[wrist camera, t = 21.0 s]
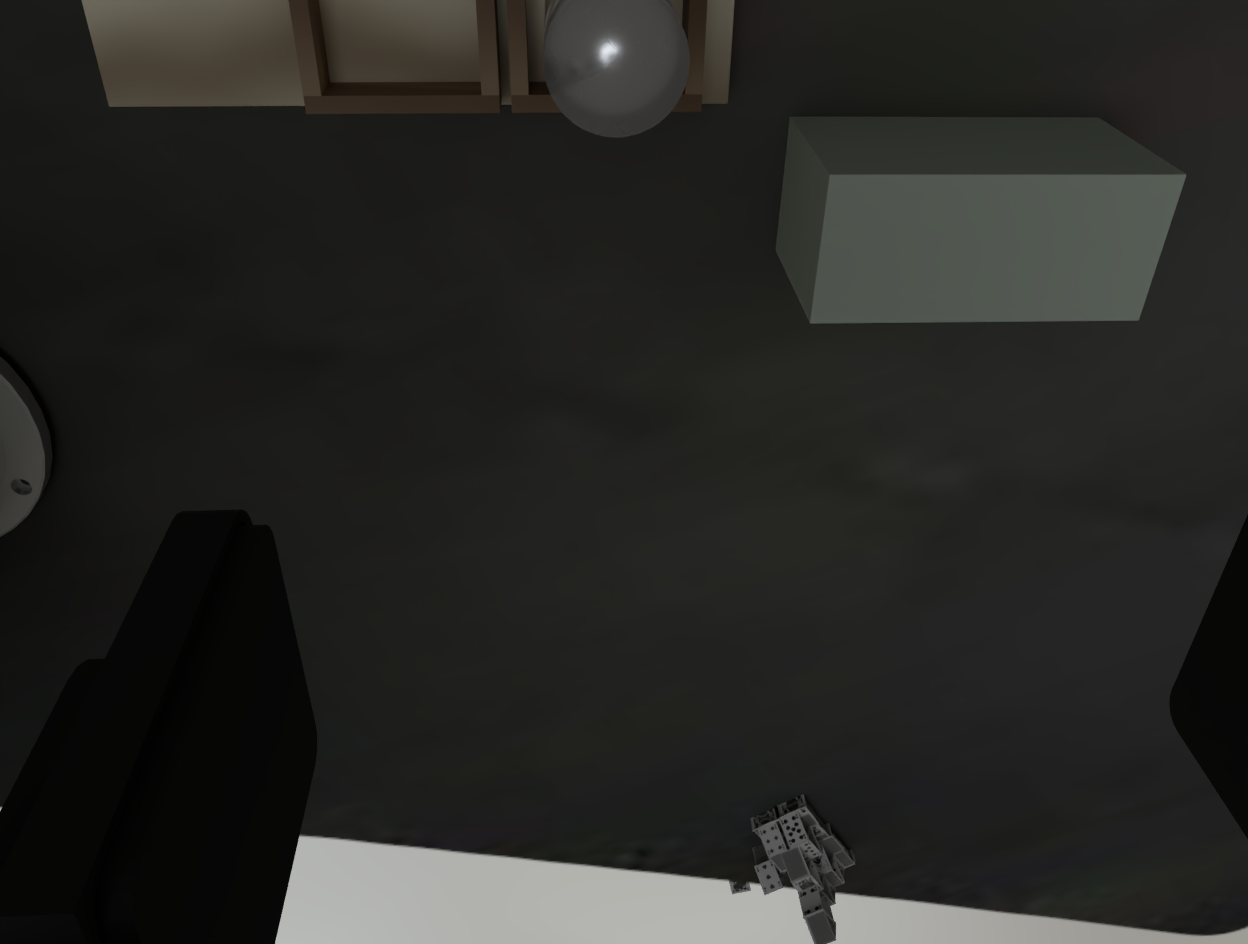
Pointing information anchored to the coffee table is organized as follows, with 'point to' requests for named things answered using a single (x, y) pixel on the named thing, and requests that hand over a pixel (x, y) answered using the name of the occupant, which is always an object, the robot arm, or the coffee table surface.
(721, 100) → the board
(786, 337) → the coffee table surface
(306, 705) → the robot arm
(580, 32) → the peg
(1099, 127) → the housing
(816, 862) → the house of cards
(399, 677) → the coffee table surface
